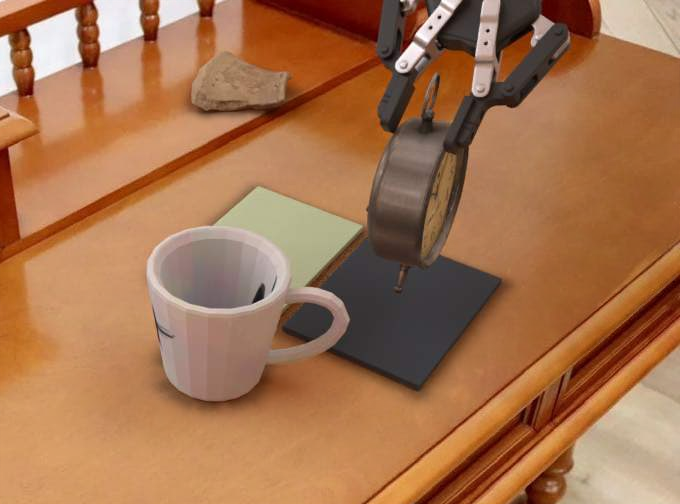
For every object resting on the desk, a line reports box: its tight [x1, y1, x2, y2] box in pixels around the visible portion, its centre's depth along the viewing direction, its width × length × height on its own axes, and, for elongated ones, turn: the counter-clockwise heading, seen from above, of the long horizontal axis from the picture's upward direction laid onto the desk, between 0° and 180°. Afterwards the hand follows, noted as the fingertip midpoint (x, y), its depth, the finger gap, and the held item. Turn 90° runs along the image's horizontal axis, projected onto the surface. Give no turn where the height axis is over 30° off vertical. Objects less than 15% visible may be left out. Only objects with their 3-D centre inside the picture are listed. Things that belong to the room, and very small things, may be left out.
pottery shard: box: [190, 50, 292, 112], centre depth 115 cm, size 11×4×10 cm
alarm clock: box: [365, 72, 470, 293], centre depth 82 cm, size 11×5×16 cm, turn 150°
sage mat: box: [212, 185, 364, 316], centre depth 95 cm, size 11×16×1 cm
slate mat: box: [281, 236, 503, 392], centre depth 90 cm, size 12×16×1 cm
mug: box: [146, 225, 350, 402], centre depth 81 cm, size 10×15×10 cm
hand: (418, 138), depth 78 cm, fingers closed on alarm clock, 4 cm apart
